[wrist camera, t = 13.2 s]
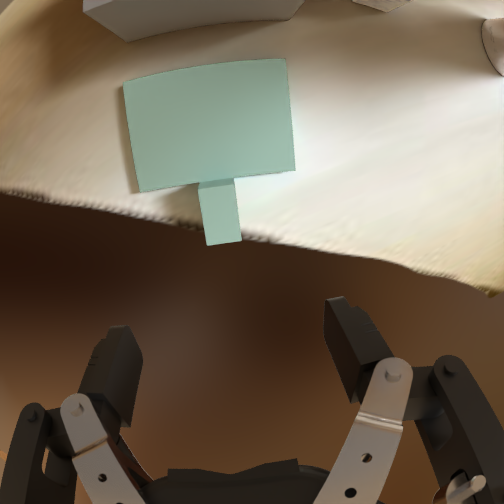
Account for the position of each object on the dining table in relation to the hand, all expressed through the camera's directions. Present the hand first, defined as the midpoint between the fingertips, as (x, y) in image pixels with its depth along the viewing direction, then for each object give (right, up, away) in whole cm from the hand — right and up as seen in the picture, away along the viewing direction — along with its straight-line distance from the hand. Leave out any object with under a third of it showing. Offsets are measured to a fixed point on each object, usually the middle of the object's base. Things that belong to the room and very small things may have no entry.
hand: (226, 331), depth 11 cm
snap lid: (-3, +13, +14) cm, 19 cm away
